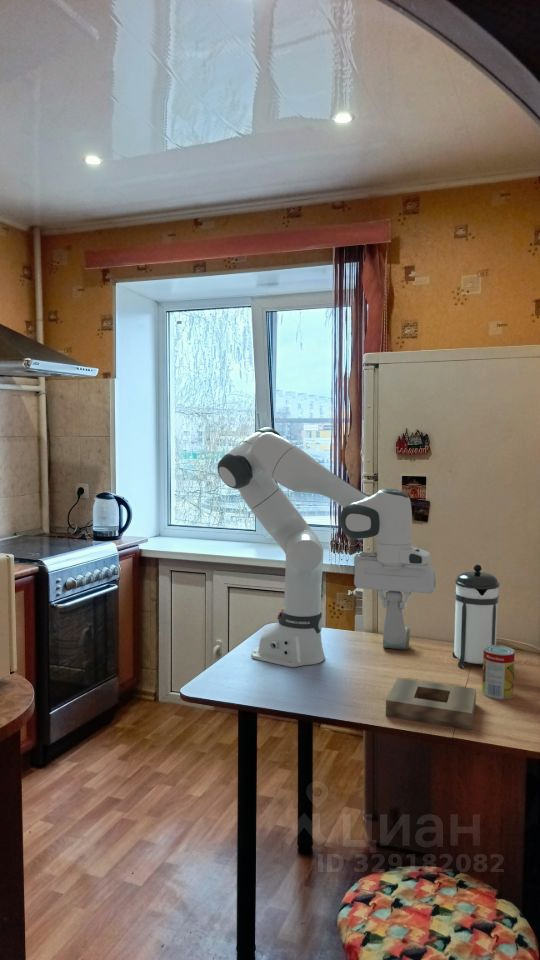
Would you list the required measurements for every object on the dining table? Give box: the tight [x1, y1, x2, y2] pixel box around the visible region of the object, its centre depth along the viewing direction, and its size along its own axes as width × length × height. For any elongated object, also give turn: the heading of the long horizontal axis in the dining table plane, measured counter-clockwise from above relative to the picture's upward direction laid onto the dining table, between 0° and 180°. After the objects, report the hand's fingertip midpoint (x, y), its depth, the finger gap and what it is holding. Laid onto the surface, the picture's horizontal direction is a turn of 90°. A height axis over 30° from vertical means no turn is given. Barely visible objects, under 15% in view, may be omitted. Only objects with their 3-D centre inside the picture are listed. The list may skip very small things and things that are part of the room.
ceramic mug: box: [382, 625, 411, 650], centre depth 215 cm, size 11×8×8 cm
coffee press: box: [452, 564, 501, 669], centre depth 201 cm, size 17×16×30 cm
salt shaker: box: [382, 590, 406, 644], centre depth 169 cm, size 6×6×13 cm
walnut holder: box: [385, 677, 477, 731], centre depth 166 cm, size 20×16×4 cm
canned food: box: [481, 644, 516, 700], centre depth 177 cm, size 8×8×12 cm
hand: (394, 607), depth 168 cm, fingers closed on salt shaker, 3 cm apart
